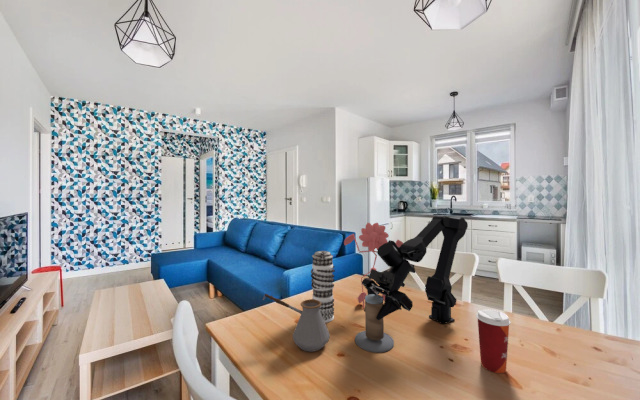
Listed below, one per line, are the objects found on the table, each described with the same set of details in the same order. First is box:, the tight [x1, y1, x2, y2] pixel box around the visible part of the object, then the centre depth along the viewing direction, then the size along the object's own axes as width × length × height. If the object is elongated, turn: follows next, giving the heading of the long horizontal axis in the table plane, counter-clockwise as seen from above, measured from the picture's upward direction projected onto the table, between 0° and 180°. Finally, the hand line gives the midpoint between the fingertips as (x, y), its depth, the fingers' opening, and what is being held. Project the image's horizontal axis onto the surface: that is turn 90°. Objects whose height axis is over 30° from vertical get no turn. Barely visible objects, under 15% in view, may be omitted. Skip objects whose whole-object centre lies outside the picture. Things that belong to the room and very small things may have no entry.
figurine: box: [343, 222, 404, 309], centre depth 114 cm, size 15×26×35 cm, turn 80°
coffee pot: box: [262, 293, 330, 353], centre depth 82 cm, size 21×12×15 cm, turn 81°
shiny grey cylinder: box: [364, 294, 385, 340], centre depth 83 cm, size 6×6×12 cm
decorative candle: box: [310, 250, 336, 324], centre depth 100 cm, size 9×9×25 cm
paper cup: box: [475, 308, 511, 374], centre depth 70 cm, size 8×8×14 cm
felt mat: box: [354, 330, 395, 354], centre depth 83 cm, size 12×12×1 cm
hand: (370, 315), depth 82 cm, fingers closed on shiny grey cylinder, 6 cm apart
